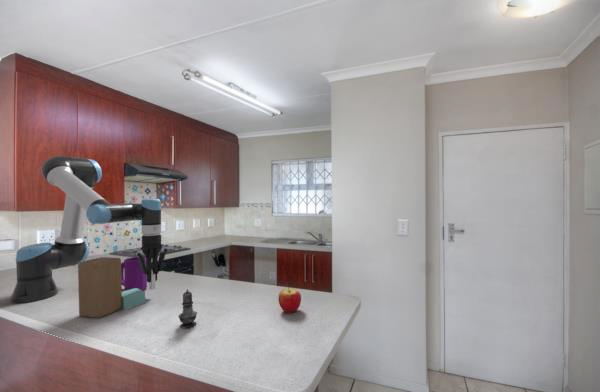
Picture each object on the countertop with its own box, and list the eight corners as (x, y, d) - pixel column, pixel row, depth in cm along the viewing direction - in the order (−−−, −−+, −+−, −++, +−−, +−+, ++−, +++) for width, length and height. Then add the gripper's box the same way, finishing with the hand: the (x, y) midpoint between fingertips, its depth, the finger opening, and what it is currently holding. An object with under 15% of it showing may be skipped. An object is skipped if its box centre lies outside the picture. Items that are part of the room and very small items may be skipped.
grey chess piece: (186, 331, 90) (185, 293, 90) (174, 326, 93) (173, 290, 93) (201, 323, 95) (200, 287, 95) (190, 320, 98) (189, 285, 98)
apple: (290, 304, 110) (289, 279, 110) (306, 310, 104) (305, 283, 104) (274, 311, 104) (273, 284, 104) (289, 317, 98) (288, 288, 98)
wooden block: (99, 319, 101) (98, 263, 101) (77, 316, 104) (76, 262, 104) (123, 308, 111) (122, 257, 111) (103, 306, 113) (101, 256, 113)
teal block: (115, 305, 114) (114, 293, 114) (136, 299, 121) (135, 288, 121) (123, 310, 110) (123, 297, 110) (145, 303, 116) (144, 291, 116)
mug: (134, 294, 127) (133, 261, 127) (110, 291, 133) (109, 259, 133) (151, 288, 135) (150, 256, 135) (128, 285, 141) (128, 255, 141)
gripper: (139, 237, 115) (140, 295, 115) (170, 233, 125) (171, 286, 125) (131, 235, 120) (132, 291, 120) (162, 232, 130) (162, 283, 130)
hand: (152, 288), depth 123 cm, fingers closed
